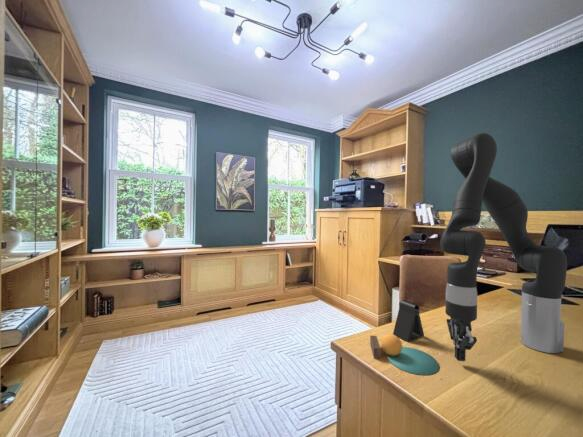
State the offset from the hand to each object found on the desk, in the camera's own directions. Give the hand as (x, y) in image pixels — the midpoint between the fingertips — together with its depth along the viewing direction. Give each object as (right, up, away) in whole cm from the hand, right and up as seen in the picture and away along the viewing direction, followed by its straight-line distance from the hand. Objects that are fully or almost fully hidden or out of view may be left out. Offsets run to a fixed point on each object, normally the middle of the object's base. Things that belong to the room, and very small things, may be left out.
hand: (459, 359), depth 73 cm
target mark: (-13, -1, +2) cm, 13 cm away
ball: (-18, +2, +5) cm, 18 cm away
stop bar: (-22, -1, +7) cm, 23 cm away
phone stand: (-7, -1, +17) cm, 19 cm away
